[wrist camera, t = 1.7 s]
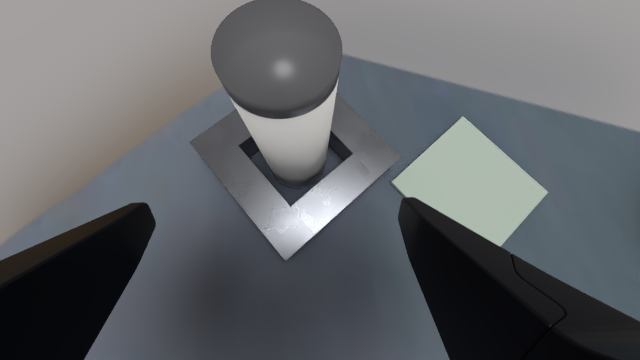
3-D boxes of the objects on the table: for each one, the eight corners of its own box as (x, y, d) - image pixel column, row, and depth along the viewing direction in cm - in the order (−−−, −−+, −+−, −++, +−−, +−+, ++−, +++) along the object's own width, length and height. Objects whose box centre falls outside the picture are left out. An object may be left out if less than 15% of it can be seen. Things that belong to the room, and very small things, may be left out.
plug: (336, 164, 22) (368, 53, 9) (294, 199, 21) (266, 131, 8) (301, 127, 23) (286, -22, 10) (259, 159, 22) (184, 40, 9)
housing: (390, 168, 22) (401, 156, 19) (289, 258, 20) (285, 261, 17) (305, 82, 24) (304, 60, 21) (205, 155, 22) (189, 142, 19)
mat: (544, 193, 22) (548, 192, 22) (475, 270, 20) (478, 271, 20) (460, 118, 24) (462, 116, 23) (390, 182, 22) (391, 181, 22)
